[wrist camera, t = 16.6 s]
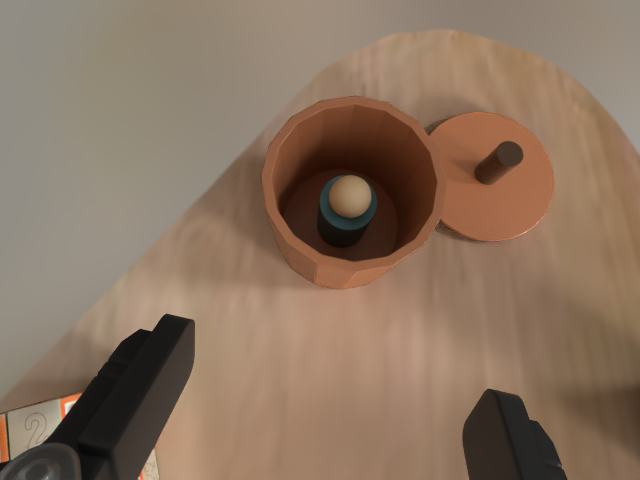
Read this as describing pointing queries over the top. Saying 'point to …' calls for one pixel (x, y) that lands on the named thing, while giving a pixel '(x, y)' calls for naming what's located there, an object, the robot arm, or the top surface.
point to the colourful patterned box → (45, 429)
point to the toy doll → (345, 210)
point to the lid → (492, 176)
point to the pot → (360, 160)
